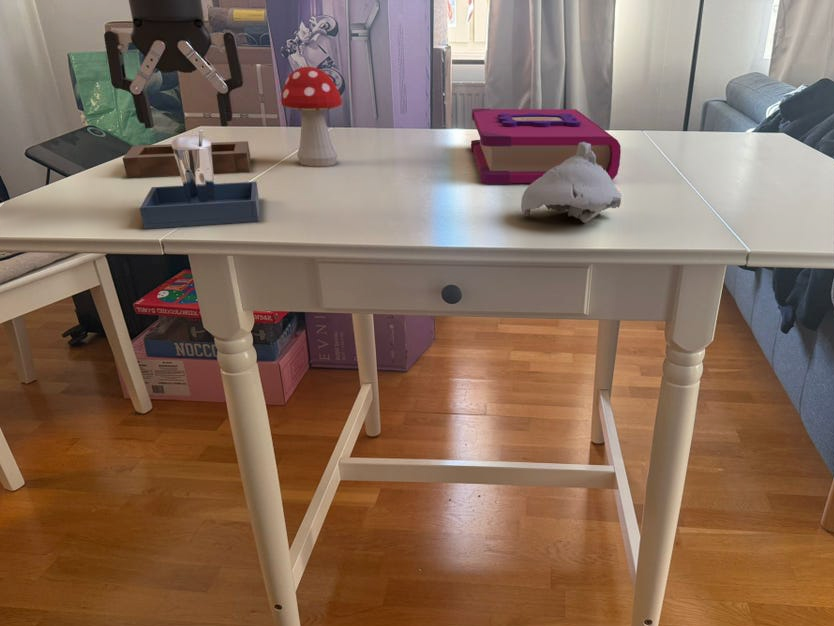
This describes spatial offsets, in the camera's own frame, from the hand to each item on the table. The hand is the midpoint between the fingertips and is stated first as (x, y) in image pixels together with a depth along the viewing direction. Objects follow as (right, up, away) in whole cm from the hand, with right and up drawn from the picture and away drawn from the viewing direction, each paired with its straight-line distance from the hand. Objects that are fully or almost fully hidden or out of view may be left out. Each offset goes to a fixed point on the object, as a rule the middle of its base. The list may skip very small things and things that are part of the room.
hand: (187, 126), depth 82 cm
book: (+45, +5, +33) cm, 56 cm away
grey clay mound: (+47, -11, +4) cm, 49 cm away
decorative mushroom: (+8, +5, +32) cm, 33 cm away
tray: (0, -10, +5) cm, 11 cm away
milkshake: (0, -9, +5) cm, 10 cm away
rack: (-11, +3, +28) cm, 30 cm away
